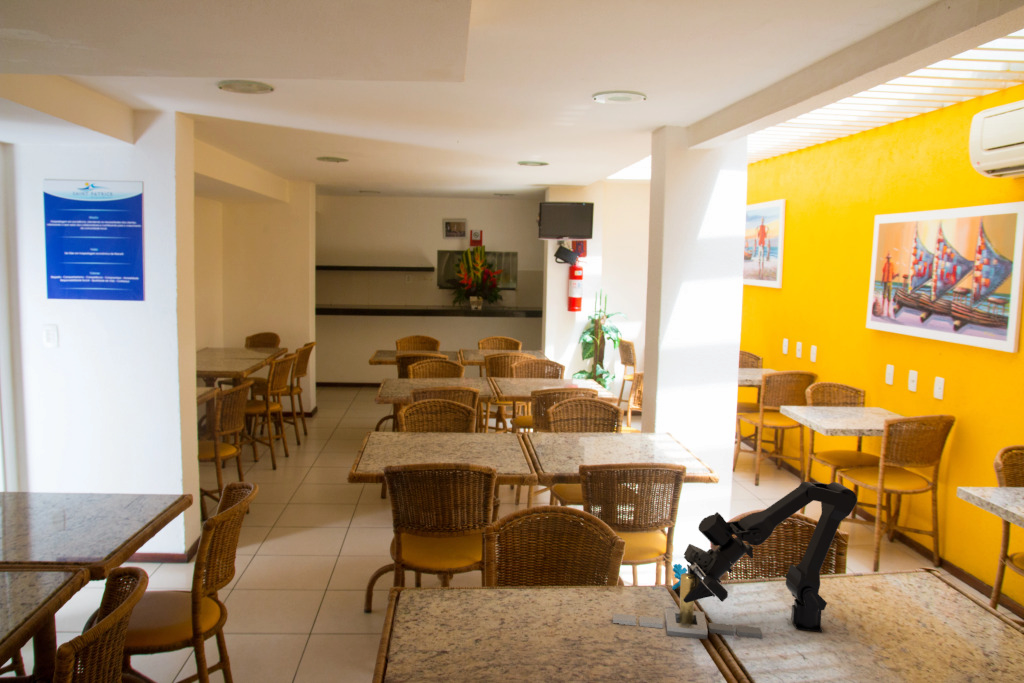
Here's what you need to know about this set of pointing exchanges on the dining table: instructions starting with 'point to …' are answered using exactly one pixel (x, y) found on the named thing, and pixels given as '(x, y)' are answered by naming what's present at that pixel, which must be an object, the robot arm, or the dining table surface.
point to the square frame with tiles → (687, 625)
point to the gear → (678, 574)
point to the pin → (685, 608)
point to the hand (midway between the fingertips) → (682, 598)
